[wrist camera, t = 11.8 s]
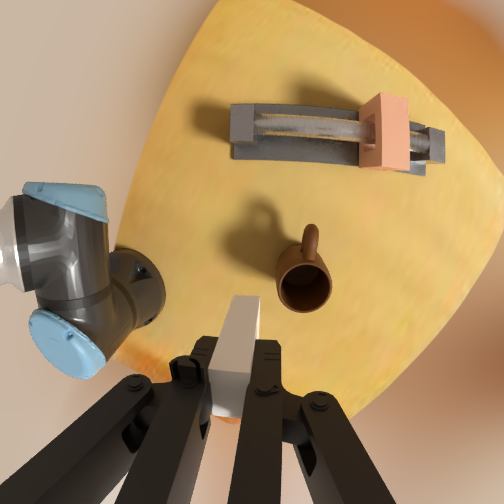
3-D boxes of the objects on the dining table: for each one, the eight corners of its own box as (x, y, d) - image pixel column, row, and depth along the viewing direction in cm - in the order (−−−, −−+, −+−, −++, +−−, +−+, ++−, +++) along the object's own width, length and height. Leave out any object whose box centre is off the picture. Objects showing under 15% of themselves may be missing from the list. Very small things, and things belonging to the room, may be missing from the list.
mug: (282, 213, 42) (284, 223, 33) (330, 219, 42) (344, 231, 32) (273, 285, 45) (272, 311, 36) (318, 289, 45) (327, 316, 36)
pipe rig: (234, 159, 40) (225, 156, 33) (235, 105, 38) (227, 90, 30) (423, 176, 38) (447, 177, 30) (423, 125, 35) (447, 119, 28)
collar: (358, 168, 38) (381, 166, 29) (358, 109, 35) (380, 92, 26) (382, 170, 37) (409, 170, 28) (381, 112, 35) (407, 98, 26)
